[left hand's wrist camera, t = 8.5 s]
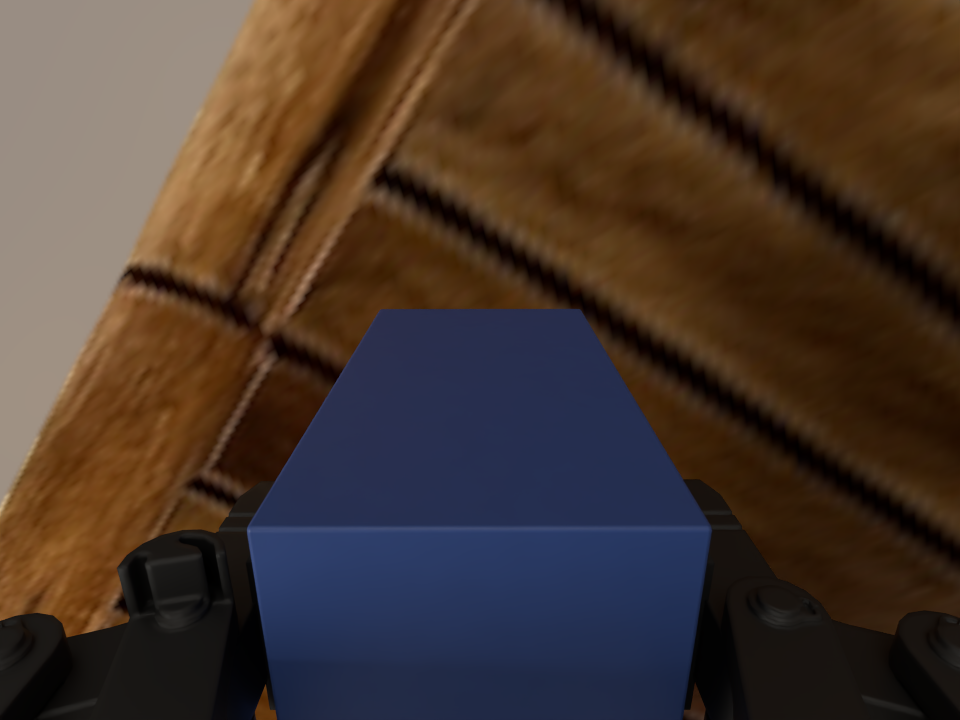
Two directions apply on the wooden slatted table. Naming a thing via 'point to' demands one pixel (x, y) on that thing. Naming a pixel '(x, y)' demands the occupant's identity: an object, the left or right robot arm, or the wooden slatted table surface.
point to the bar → (479, 533)
